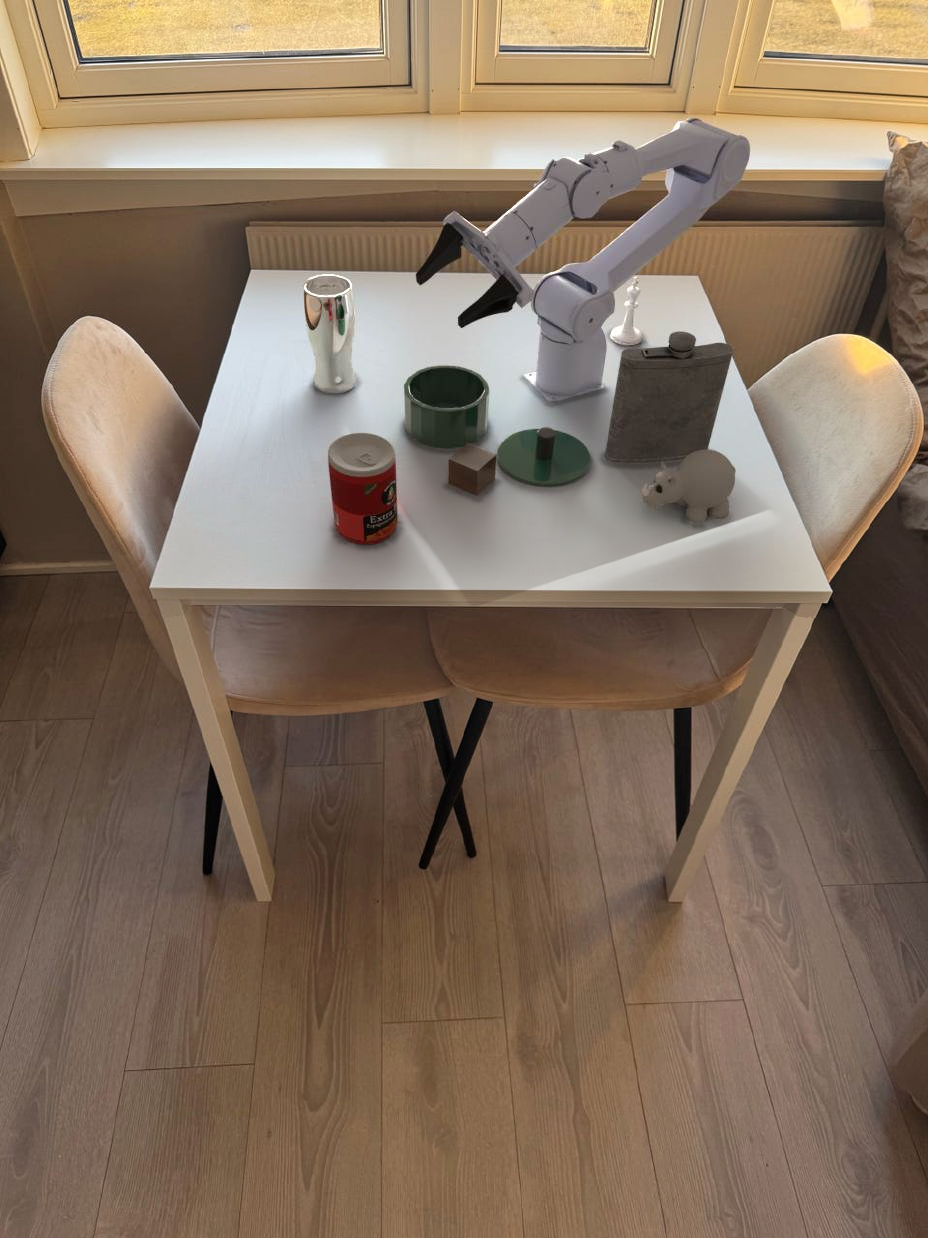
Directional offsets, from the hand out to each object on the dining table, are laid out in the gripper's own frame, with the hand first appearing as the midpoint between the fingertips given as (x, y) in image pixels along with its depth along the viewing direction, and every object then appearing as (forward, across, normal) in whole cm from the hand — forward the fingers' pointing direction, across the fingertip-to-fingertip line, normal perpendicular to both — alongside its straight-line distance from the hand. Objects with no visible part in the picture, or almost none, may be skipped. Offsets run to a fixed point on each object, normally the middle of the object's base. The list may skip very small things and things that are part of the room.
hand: (438, 301), depth 114 cm
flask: (-11, +31, +14) cm, 36 cm away
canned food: (+25, +14, +5) cm, 29 cm away
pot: (+6, +8, +17) cm, 20 cm away
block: (+11, +18, +10) cm, 23 cm away
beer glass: (+12, -10, +23) cm, 28 cm away
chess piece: (-29, +11, +33) cm, 45 cm away
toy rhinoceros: (-6, +39, +8) cm, 40 cm away
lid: (0, +21, +12) cm, 24 cm away
